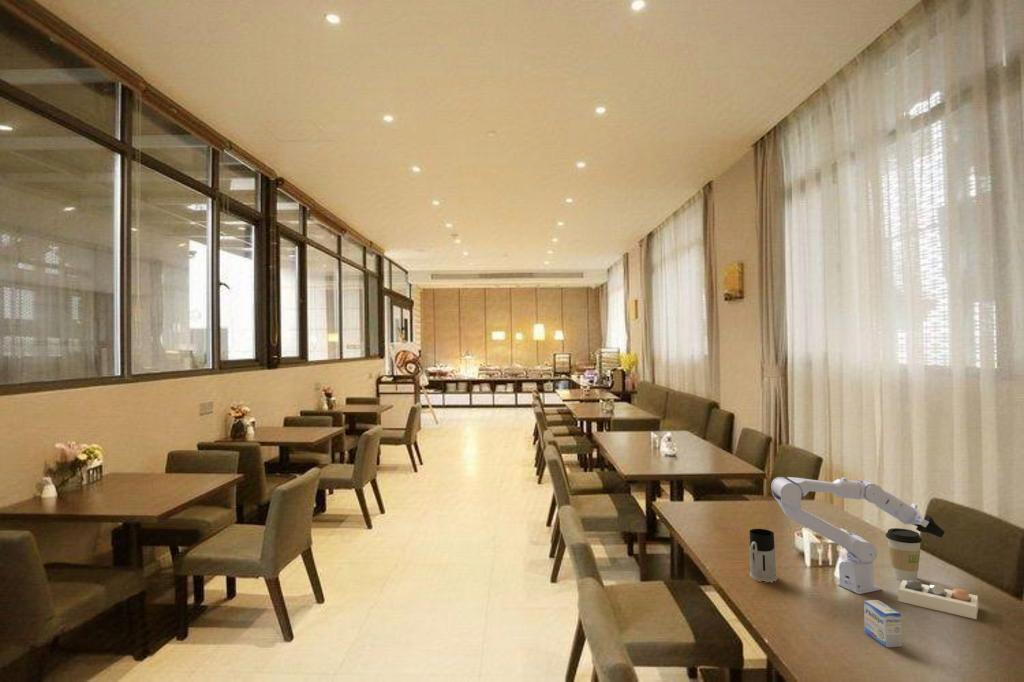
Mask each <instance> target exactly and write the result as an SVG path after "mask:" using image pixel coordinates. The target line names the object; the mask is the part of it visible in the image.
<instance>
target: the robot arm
mask: <svg viewBox="0 0 1024 682" xmlns="http://www.w3.org/2000/svg"><path fill="white" fill-rule="evenodd" d="M770 483H771V484H770V487H771V494H772V497H773V498H774V499H775V500H776V502H777V504H778V505H779V507H780V509H781V510H782V512H783V514H784V515H785V516H786V517H788V518H789V519H790V520H792V521H794V522H796V523H797V524H800V525H801V526H804V527H805V528H807V529H809V530H811V531H813V532H814V533H816V534H819V535H820V536H822V537H824V538H826V539H827V540H830V541H831V542H833V543H835V544H837V545H839V546H840V547H842V548H844V549H845V550H846V558H845V560H843V561H841V562H840V563H839V567H838V570H839V572H838V573H839V574H838V575H839V582H837V585H838V586H840V587H842V588H845V589H846V590H849V591H851V592H854V593H855V594H858V595H862V594H867V593H872V592H876V591H881V590H882V587H880V586H878V585H875V567H874V561H875V560H876V558H877V557H878V549H877V547H876V546H875V545H874V544H873V543H871V542H869V541H868V540H866V539H864V538H863V537H861V536H860V535H859V534H857V533H855V532H854V533H853V532H848V531H845V530H843V529H841V528H839V527H837V526H835V525H833V524H832V523H830V522H828V521H825V520H824V519H822V518H820V517H818V516H817V515H814V514H813V513H811V512H809V511H806V510H805V509H803V508H802V505H801V502H802V497H806V495H807V494H808V493H809V492H812V493H813V492H814V493H831V494H833V495H835V497H837V498H841V499H842V498H843V499H850V500H853V499H854V500H862V499H864V500H866V501H867V502H868V503H871V504H873V505H874V506H876V507H877V508H879V509H880V510H881V511H883V512H885V513H887V514H889V515H890V516H891V517H894V518H895V519H897V520H898V521H899V522H901V524H904V525H912V526H915V527H916V528H915V529H916V530H915V531H917V532H918V531H919V532H920V533H927V534H931V535H932V536H936V537H939V538H943V536H944V534H945V533H946V532H945V530H944V529H942V528H941V527H940V526H939V525H938V524H937V523H936V522H935V520H934V519H933V517H932V516H930V515H929V514H927V515H925V517H924V518H923V516H922V515H921V513H920V512H919V510H918V509H917V508H918V507H919V506H918V504H915V503H911V505H910V504H909V503H907V502H905V501H904V500H902V499H900V498H899V497H896V496H895V495H893V494H892V493H890V492H888V491H886V490H884V489H883V488H882V487H881V486H880V485H879V484H878V485H877V484H876V483H873V482H871V481H869V480H865V479H857V480H852V479H848V478H846V477H841V478H840V479H839V478H837V479H835V480H834V481H825V480H818V479H817V480H816V479H809V478H803V477H795V476H794V477H792V476H787V477H783V476H777V477H775V478H774V479H773V480H772V482H770Z"/></svg>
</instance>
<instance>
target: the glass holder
mask: <svg viewBox="0 0 1024 682" xmlns="http://www.w3.org/2000/svg"><path fill="white" fill-rule="evenodd" d="M749 568H750V569H749V570H750V572H749V574H750V576H751V577H752V578H754V579H757V580H760V581H765V582H764V583H766V582H771V581H772V582H771V583H774V582H773V581H775V582H777V581H778V580H777V578H778V577H777V569H776V568H777V563H776V546H775V532H774V531H771V530H769V529H764V528H752V529H750V530H749ZM776 580H777V581H776Z"/></svg>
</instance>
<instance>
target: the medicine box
mask: <svg viewBox="0 0 1024 682" xmlns="http://www.w3.org/2000/svg"><path fill="white" fill-rule="evenodd" d="M863 603H864V604H863V607H864V609H863V611H864V613H863V614H864V633H865V634H866V635H867V636H869V637H871V638H872V639H873V640H875V641H876V642H878V644H881V645H882V646H884V647H885V648H888V649H889V648H898V647H899V648H901V647H902V646H903V639H902V636H903V635H902V615H901V612H899V611H897V610H895V609H894V608H892V607H891V606H889V605H887V604H885V603H884V602H882V601H881V600H878V599H872V600H871V599H869V600H864V602H863Z"/></svg>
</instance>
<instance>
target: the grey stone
mask: <svg viewBox="0 0 1024 682" xmlns="http://www.w3.org/2000/svg"><path fill="white" fill-rule="evenodd" d="M922 584H923V583H922V580H919V579H918V578H917V579H907V589H911V590H915V591H920V592H922Z"/></svg>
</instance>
